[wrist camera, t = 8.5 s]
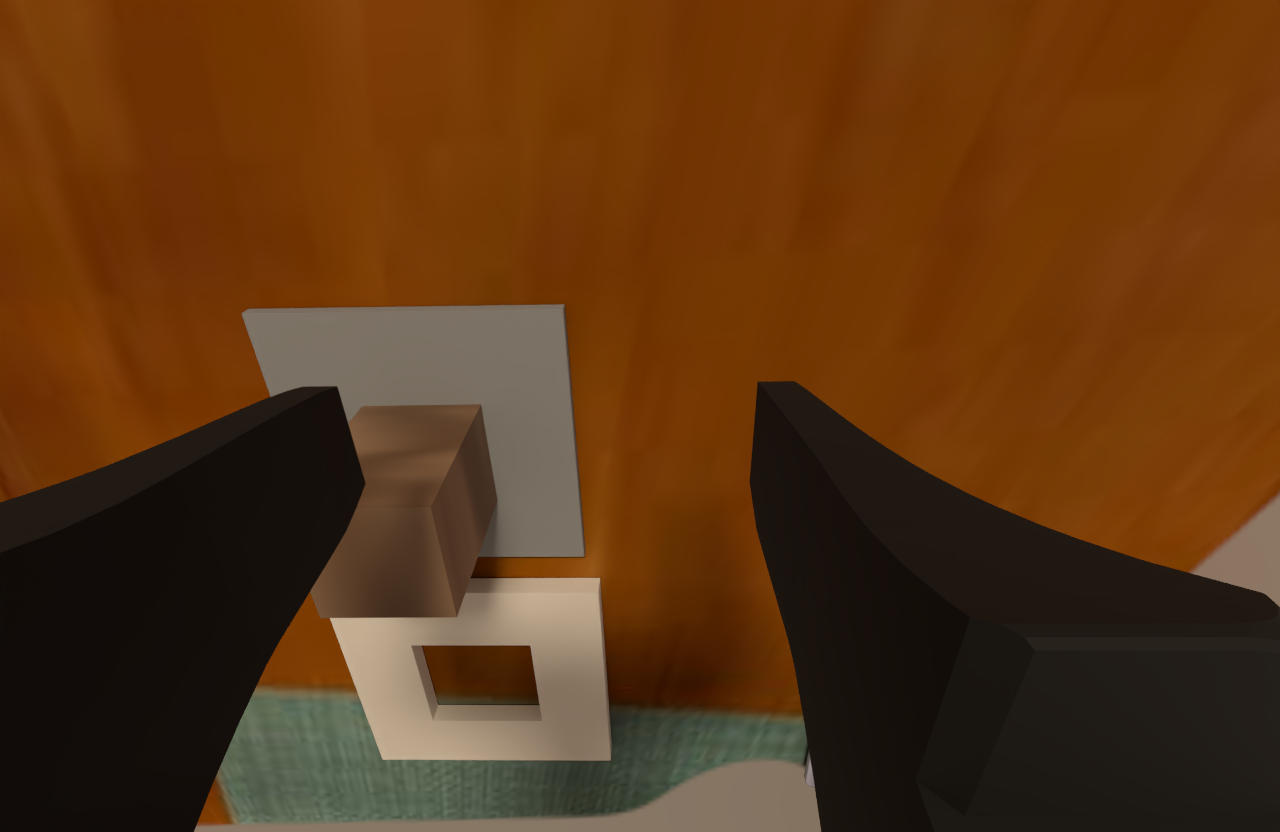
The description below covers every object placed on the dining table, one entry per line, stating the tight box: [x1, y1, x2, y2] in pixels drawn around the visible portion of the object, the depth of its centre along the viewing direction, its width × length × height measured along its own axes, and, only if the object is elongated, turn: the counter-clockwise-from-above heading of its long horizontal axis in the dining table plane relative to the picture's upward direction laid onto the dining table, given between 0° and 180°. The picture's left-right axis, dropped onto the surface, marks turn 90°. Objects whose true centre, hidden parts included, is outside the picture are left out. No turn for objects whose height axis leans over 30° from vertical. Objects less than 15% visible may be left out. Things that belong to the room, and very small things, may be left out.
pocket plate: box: [330, 578, 612, 761], centre depth 28 cm, size 11×11×1 cm
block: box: [310, 404, 498, 618], centre depth 20 cm, size 4×4×6 cm
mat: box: [242, 304, 585, 557], centre depth 22 cm, size 10×10×1 cm
